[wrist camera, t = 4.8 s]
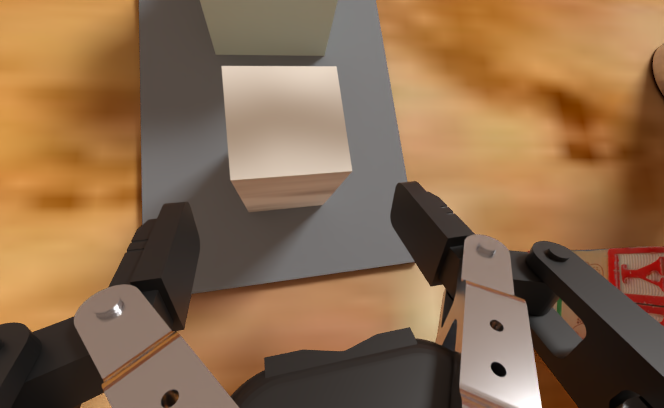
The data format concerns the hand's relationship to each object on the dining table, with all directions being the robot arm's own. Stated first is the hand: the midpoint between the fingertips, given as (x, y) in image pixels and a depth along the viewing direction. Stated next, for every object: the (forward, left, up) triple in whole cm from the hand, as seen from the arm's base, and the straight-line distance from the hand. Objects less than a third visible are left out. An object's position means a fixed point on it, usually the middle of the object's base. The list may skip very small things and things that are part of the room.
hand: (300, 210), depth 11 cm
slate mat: (-9, -6, -9) cm, 14 cm away
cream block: (-3, -2, -8) cm, 9 cm away
